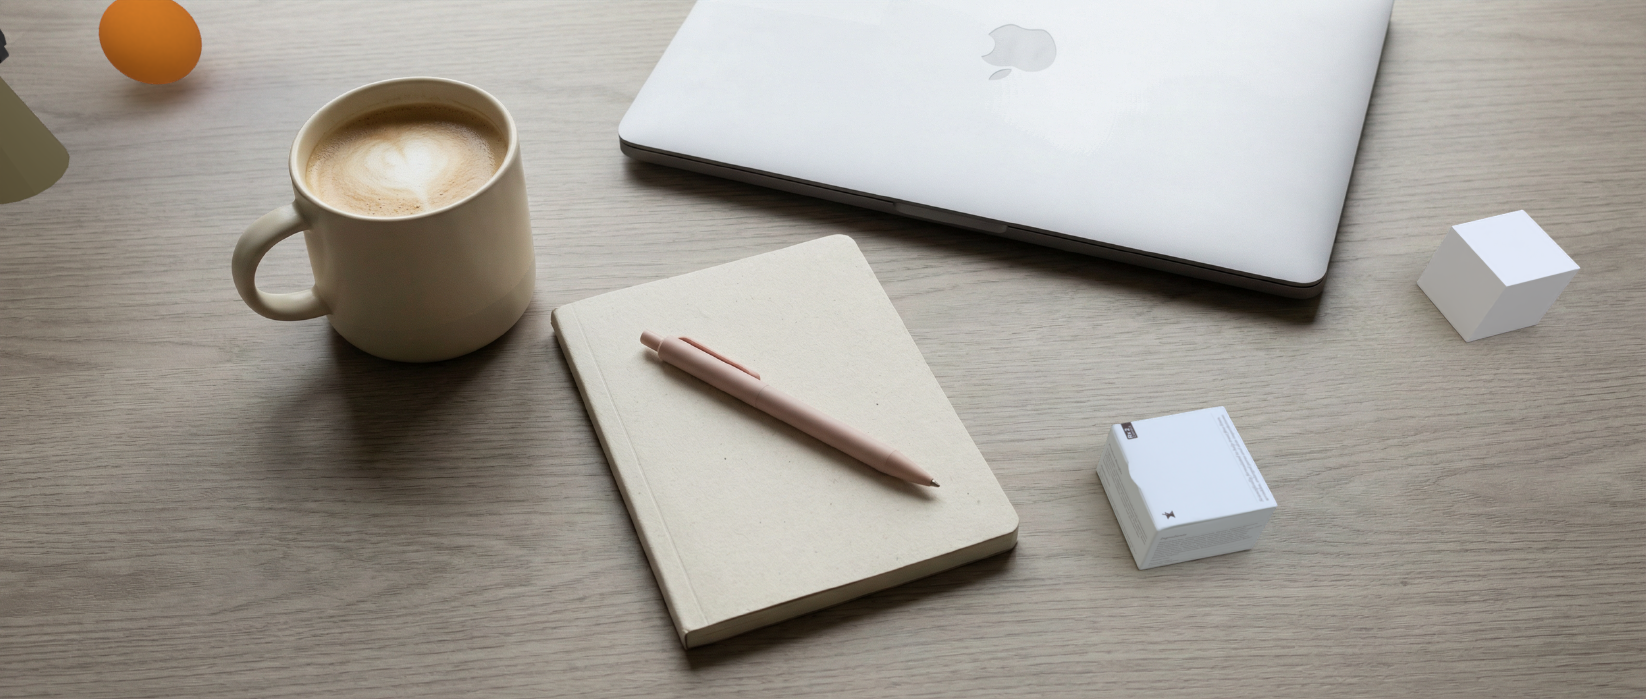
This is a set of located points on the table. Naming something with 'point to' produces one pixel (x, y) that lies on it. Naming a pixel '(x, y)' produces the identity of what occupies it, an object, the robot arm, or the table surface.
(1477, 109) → the table surface
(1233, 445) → the small box
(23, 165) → the olive pawn
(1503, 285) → the white cube
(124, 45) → the orange
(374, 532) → the table surface
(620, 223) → the table surface
